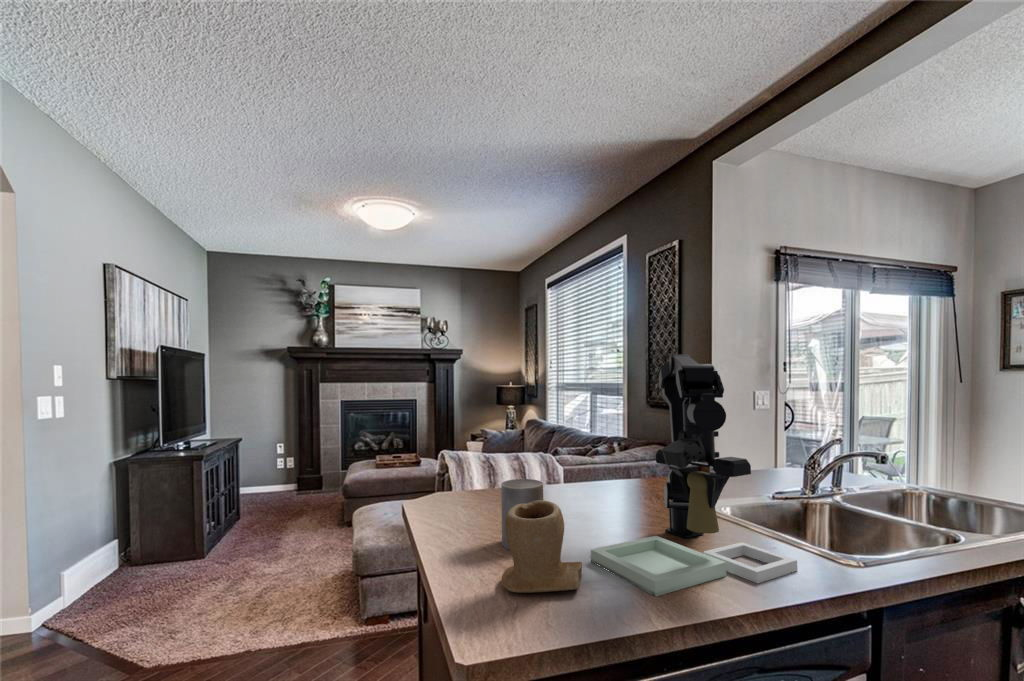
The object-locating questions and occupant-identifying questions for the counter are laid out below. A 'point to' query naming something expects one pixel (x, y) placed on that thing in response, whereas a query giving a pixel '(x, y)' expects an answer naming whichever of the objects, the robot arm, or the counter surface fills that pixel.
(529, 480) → the pillar candle
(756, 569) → the collar block
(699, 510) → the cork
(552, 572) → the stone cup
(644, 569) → the tray
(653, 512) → the counter surface
